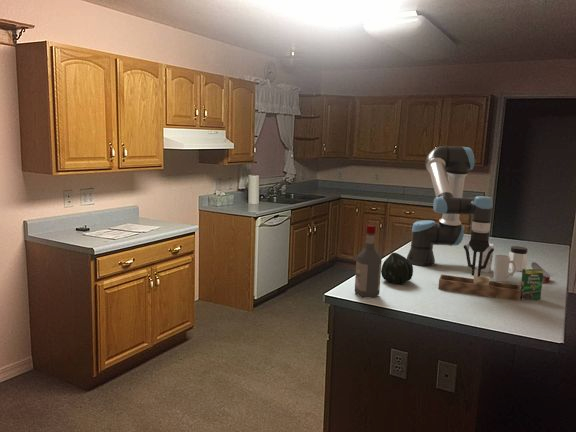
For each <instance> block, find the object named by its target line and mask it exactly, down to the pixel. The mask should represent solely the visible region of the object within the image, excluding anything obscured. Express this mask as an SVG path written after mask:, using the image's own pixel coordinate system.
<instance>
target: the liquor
mask: <svg viewBox="0 0 576 432" xmlns="http://www.w3.org/2000/svg"><path fill="white" fill-rule="evenodd" d="M375 235H376V225H374V224H373V225H372V224H368V225H366V238H365V245H364V248H363V249H362V250H361V251H360V252H359V253H358V254H357V255H356V259H355V260H356V263H355V278H354V279H355V280H354V293H355V294H356V295H357V294H358V295H357V296H358V297H360V296H362V297H361V298H364V297H372V298H377V297H378V296H379V295H380V289H381V278H382V274H381V269H382V257H381V255H380V254H379V252H378V251H377V250H376V247H375V237H376V236H375ZM376 296H377V297H376Z"/></svg>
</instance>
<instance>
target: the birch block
mask: <svg viewBox="0 0 576 432" xmlns="http://www.w3.org/2000/svg"><path fill="white" fill-rule="evenodd" d="M489 281H490V276H485V275H480V276H477V284H479V285H486V286H489Z"/></svg>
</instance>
